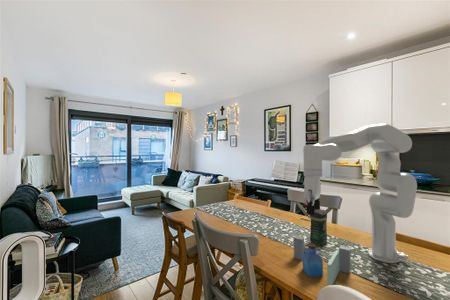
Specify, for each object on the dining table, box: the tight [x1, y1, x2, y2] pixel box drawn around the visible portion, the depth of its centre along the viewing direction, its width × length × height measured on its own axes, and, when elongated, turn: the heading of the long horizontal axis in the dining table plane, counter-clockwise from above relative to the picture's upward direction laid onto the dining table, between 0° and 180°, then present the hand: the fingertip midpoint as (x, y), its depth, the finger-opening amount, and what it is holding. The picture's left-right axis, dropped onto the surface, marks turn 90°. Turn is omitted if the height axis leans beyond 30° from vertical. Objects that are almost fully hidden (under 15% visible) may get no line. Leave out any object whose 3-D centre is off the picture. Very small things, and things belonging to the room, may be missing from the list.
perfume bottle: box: [302, 242, 324, 277], centre depth 95 cm, size 6×6×12 cm
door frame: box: [293, 235, 352, 274], centre depth 102 cm, size 24×3×10 cm, turn 55°
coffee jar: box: [309, 208, 328, 246], centre depth 125 cm, size 10×8×19 cm
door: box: [326, 249, 340, 287], centre depth 90 cm, size 15×1×9 cm, turn 141°
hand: (313, 211), depth 96 cm, fingers open, 9 cm apart
